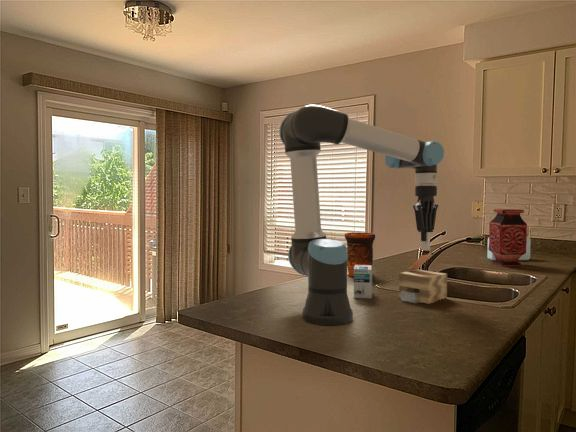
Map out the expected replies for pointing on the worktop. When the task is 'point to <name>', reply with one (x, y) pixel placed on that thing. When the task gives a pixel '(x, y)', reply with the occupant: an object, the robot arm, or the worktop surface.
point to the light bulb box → (363, 281)
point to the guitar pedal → (523, 257)
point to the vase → (507, 237)
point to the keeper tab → (419, 262)
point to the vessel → (359, 250)
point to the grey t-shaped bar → (410, 296)
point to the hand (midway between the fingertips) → (425, 249)
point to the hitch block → (424, 284)
